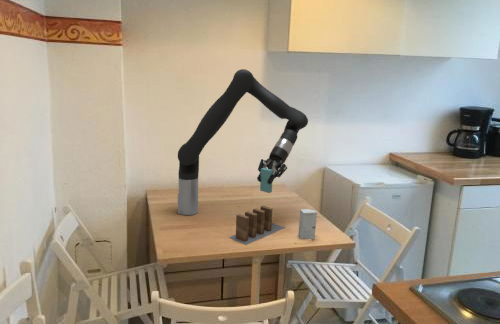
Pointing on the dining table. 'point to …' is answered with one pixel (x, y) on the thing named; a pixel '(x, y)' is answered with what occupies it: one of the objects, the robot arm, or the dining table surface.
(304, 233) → the skincare box
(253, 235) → the domino
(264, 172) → the domino
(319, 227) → the dining table surface
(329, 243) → the dining table surface
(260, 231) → the domino
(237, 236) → the domino
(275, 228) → the domino mat
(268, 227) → the domino
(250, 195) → the dining table surface
